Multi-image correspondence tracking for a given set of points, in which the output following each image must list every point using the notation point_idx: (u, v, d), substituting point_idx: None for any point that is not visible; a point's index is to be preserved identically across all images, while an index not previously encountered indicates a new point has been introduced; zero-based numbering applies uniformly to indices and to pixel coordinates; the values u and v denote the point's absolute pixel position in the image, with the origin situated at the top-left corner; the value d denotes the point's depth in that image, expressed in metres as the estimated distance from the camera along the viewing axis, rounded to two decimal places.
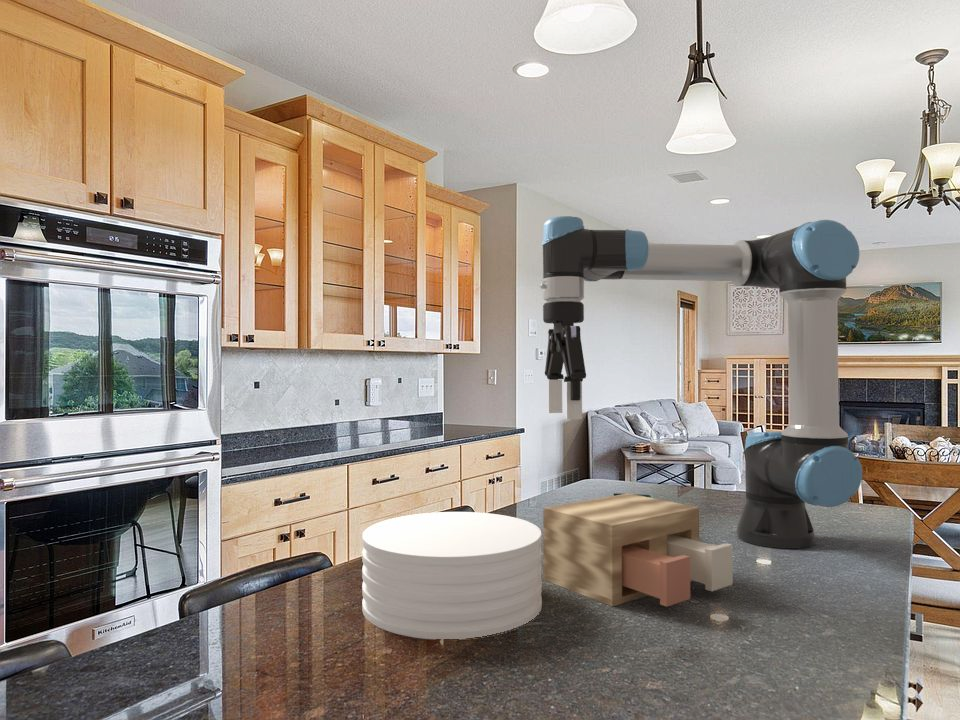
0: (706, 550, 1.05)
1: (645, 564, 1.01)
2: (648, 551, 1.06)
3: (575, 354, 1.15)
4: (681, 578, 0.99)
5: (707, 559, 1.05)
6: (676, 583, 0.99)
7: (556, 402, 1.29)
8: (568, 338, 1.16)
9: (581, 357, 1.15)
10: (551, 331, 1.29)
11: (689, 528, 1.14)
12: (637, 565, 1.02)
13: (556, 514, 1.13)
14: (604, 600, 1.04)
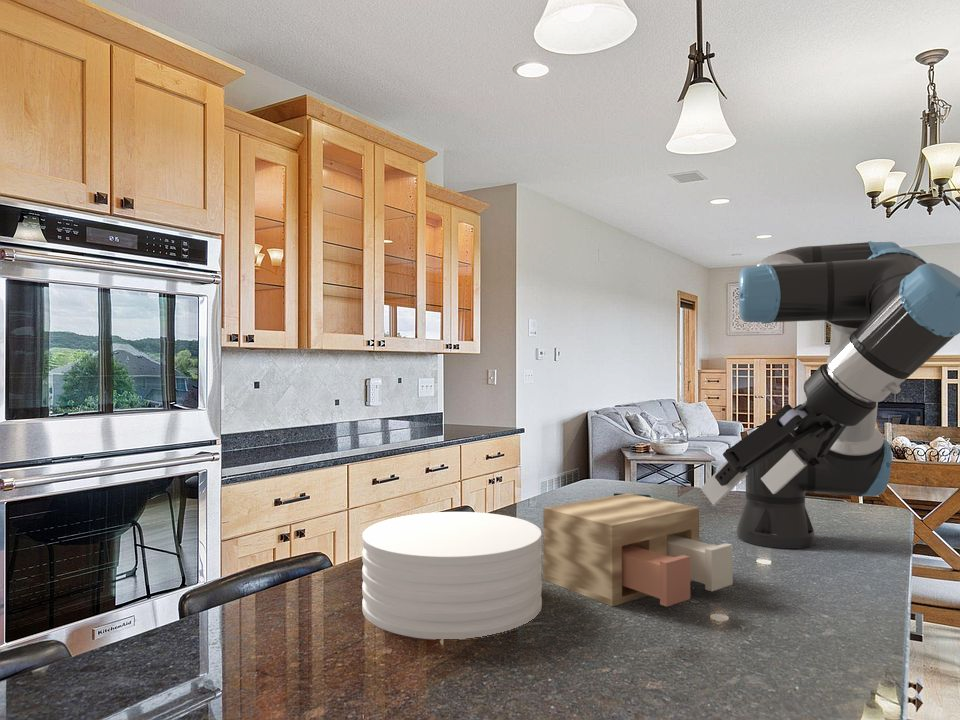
0: (706, 550, 1.05)
1: (645, 564, 1.01)
2: (648, 551, 1.06)
3: None
4: (681, 578, 0.99)
5: (707, 559, 1.05)
6: (676, 583, 0.99)
7: None
8: (845, 425, 0.86)
9: None
10: None
11: (689, 528, 1.14)
12: (637, 565, 1.02)
13: (556, 514, 1.13)
14: (604, 600, 1.04)
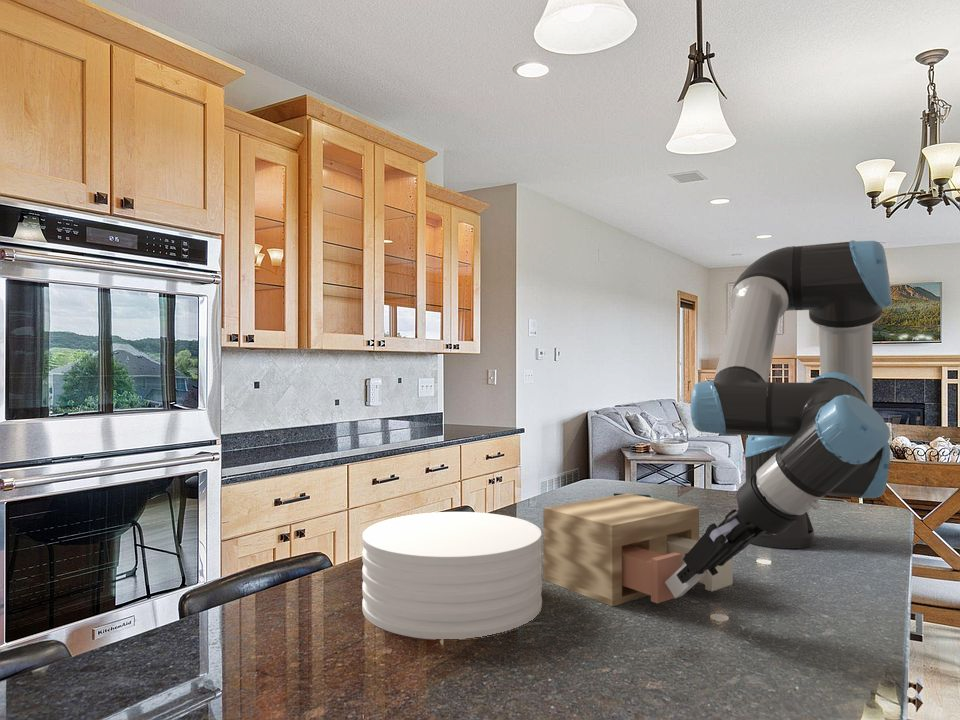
0: None
1: (637, 562, 1.02)
2: (640, 549, 1.07)
3: None
4: (671, 575, 1.01)
5: None
6: None
7: None
8: None
9: None
10: (724, 537, 0.86)
11: (689, 528, 1.14)
12: (628, 563, 1.04)
13: (556, 514, 1.13)
14: (604, 600, 1.04)
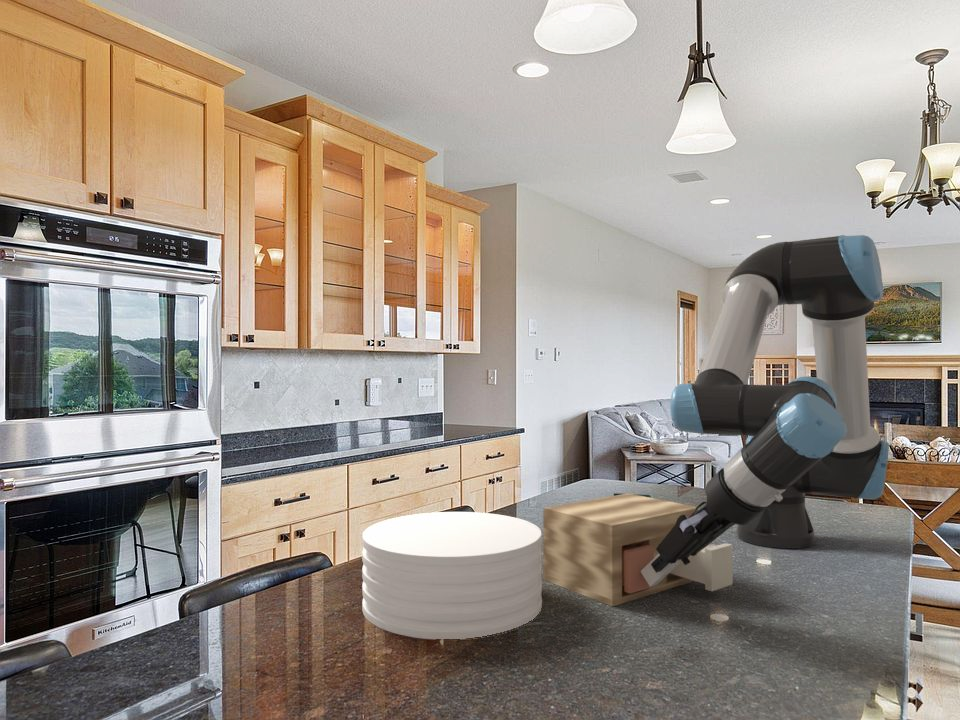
0: (706, 550, 1.05)
1: None
2: None
3: None
4: None
5: (707, 559, 1.05)
6: (639, 571, 1.04)
7: None
8: (729, 525, 0.98)
9: None
10: (693, 527, 0.91)
11: None
12: None
13: (556, 514, 1.13)
14: (604, 600, 1.04)
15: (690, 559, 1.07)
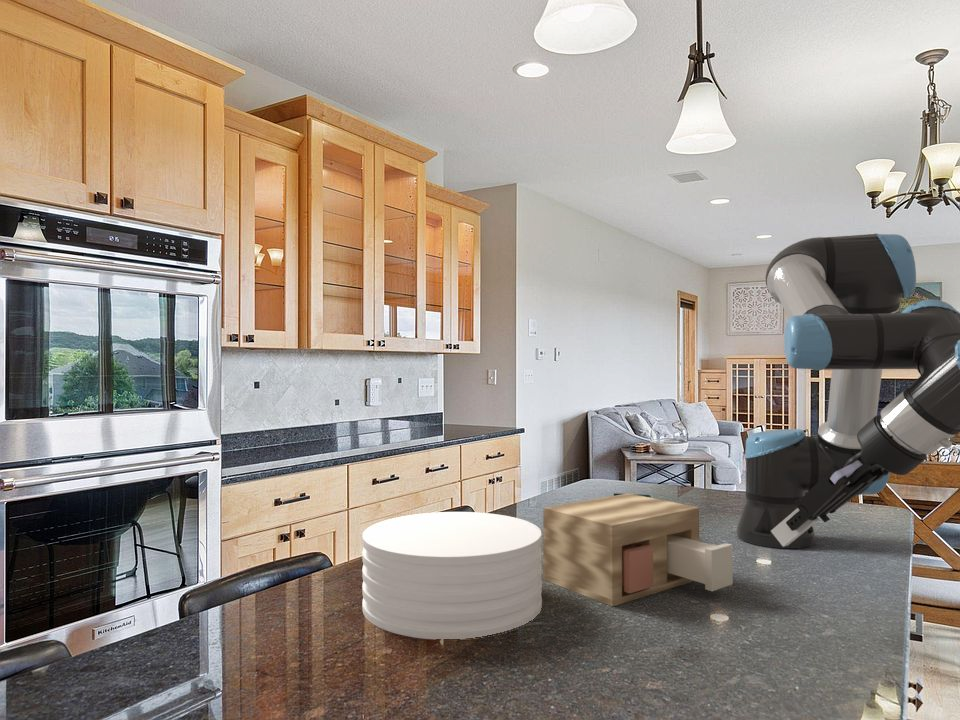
0: (706, 550, 1.05)
1: None
2: None
3: None
4: (644, 567, 1.05)
5: (707, 559, 1.05)
6: (639, 571, 1.04)
7: None
8: None
9: None
10: None
11: (689, 528, 1.14)
12: None
13: (556, 514, 1.13)
14: (604, 600, 1.04)
15: (690, 559, 1.07)
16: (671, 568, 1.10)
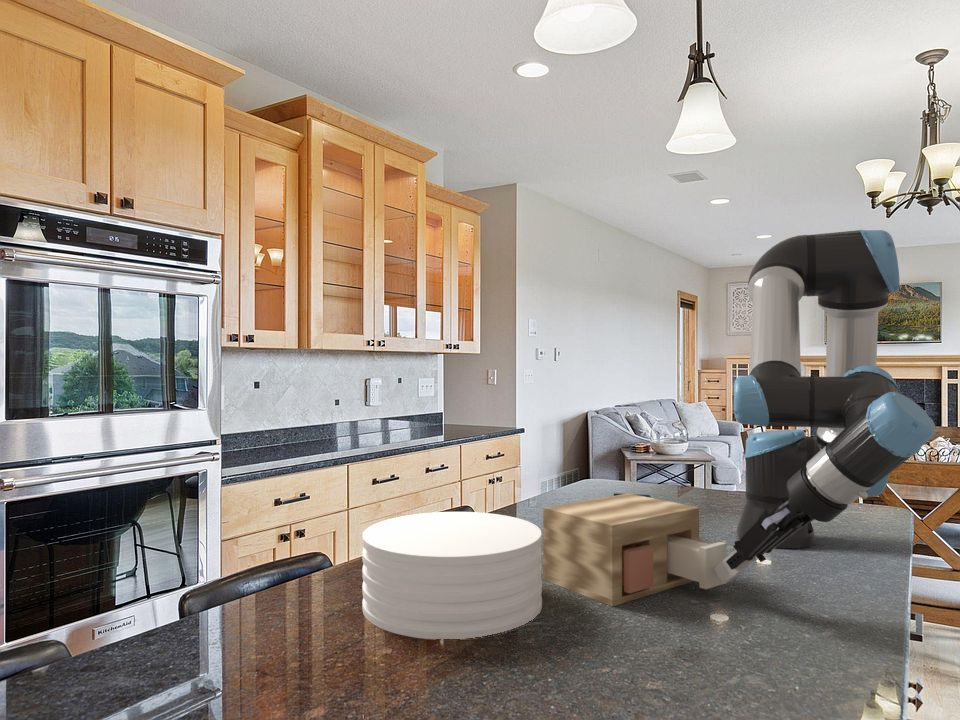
0: (700, 548, 1.06)
1: None
2: None
3: None
4: (644, 567, 1.05)
5: (701, 558, 1.05)
6: (639, 571, 1.04)
7: None
8: None
9: None
10: (776, 525, 0.92)
11: (689, 528, 1.14)
12: None
13: (556, 514, 1.13)
14: (604, 600, 1.04)
15: (684, 557, 1.08)
16: None
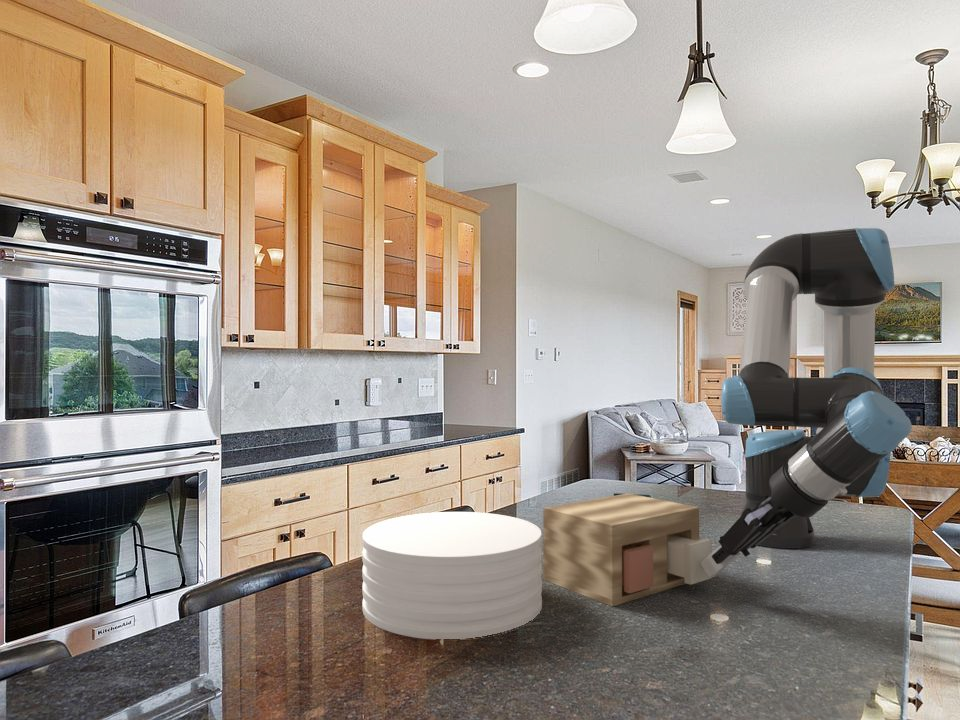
0: (685, 545, 1.08)
1: None
2: None
3: None
4: (644, 567, 1.05)
5: (686, 554, 1.08)
6: (639, 571, 1.04)
7: None
8: None
9: None
10: (759, 520, 0.95)
11: (689, 528, 1.14)
12: None
13: (556, 514, 1.13)
14: (604, 600, 1.04)
15: (670, 554, 1.11)
16: None
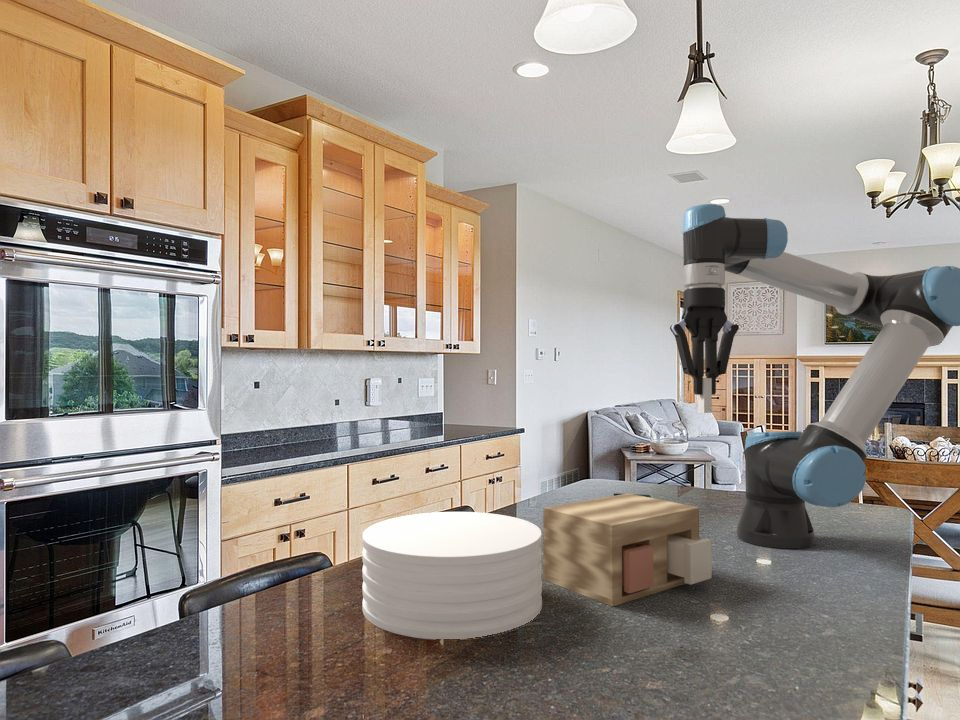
0: (685, 545, 1.08)
1: None
2: None
3: None
4: (644, 567, 1.05)
5: (686, 554, 1.08)
6: (639, 571, 1.04)
7: None
8: (733, 336, 1.25)
9: None
10: None
11: (689, 528, 1.14)
12: None
13: (556, 514, 1.13)
14: (604, 600, 1.04)
15: (670, 553, 1.11)
16: None
